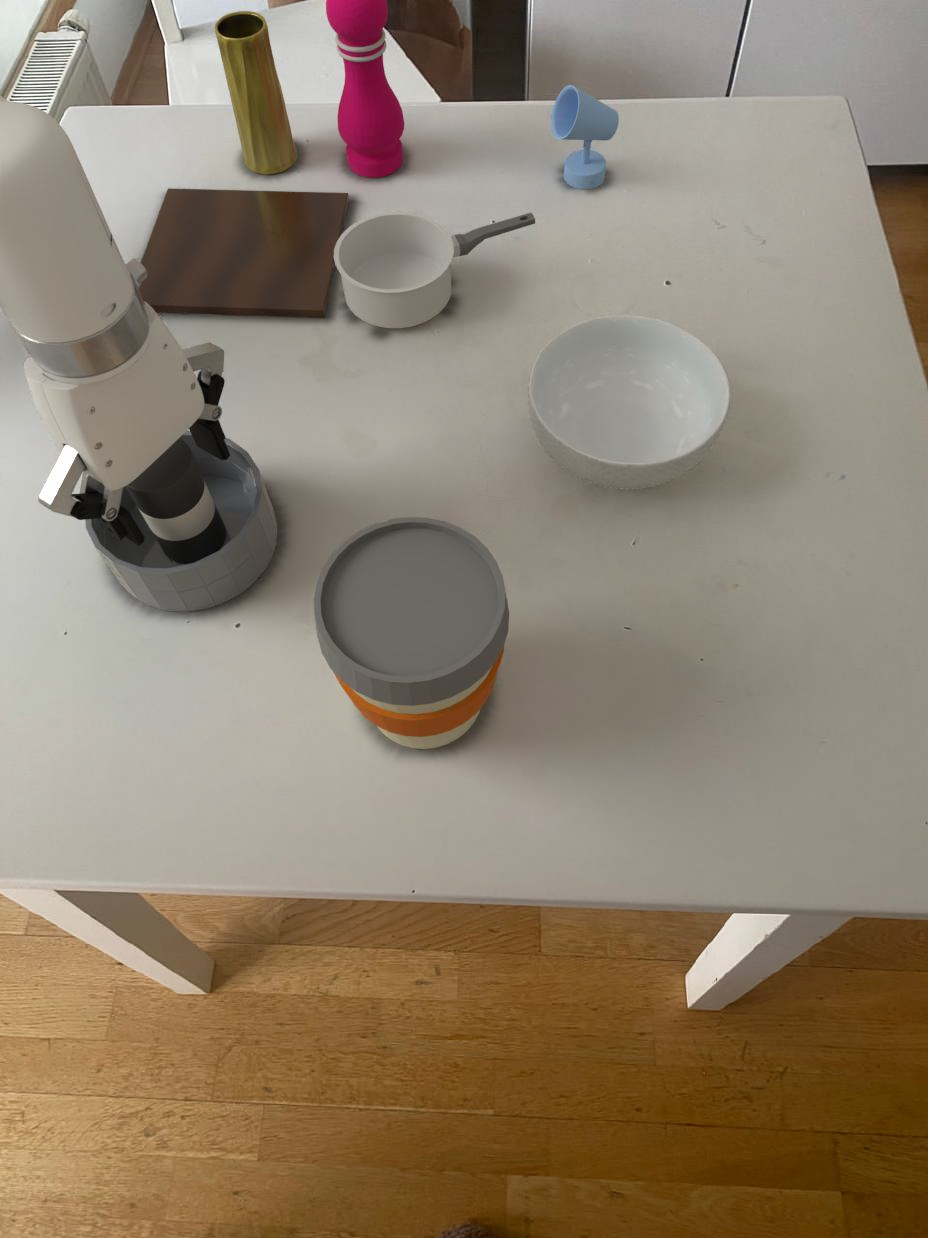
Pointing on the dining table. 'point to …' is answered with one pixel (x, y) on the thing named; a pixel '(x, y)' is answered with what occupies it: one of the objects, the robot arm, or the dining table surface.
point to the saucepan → (404, 265)
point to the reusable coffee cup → (413, 627)
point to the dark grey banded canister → (179, 506)
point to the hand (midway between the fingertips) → (172, 492)
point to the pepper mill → (366, 88)
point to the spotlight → (583, 134)
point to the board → (243, 252)
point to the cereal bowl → (627, 400)
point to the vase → (255, 92)
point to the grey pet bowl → (216, 574)
